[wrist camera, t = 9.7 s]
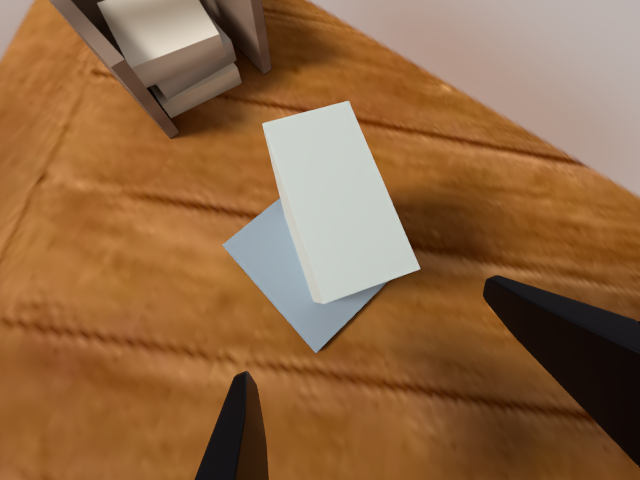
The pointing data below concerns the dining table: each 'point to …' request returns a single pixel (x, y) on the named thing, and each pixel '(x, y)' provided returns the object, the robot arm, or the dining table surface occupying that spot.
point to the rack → (89, 23)
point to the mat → (290, 278)
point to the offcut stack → (173, 50)
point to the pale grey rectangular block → (336, 203)
